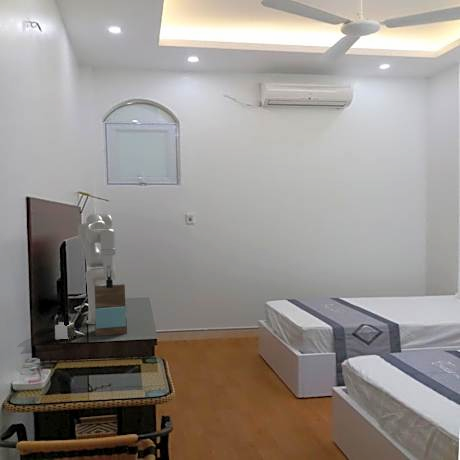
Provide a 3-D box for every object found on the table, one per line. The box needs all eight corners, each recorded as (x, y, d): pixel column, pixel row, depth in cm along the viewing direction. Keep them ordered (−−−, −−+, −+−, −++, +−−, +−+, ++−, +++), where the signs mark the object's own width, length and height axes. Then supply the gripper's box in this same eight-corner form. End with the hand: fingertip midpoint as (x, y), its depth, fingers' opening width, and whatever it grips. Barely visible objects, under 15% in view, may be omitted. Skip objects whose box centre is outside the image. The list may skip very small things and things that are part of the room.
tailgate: (95, 328, 256) (95, 308, 256) (126, 325, 259) (125, 306, 259) (95, 328, 255) (95, 309, 255) (126, 326, 258) (125, 306, 258)
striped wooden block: (96, 330, 271) (94, 286, 270) (126, 327, 275) (124, 284, 274) (95, 336, 256) (93, 289, 256) (127, 333, 260) (125, 287, 260)
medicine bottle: (68, 339, 251) (67, 316, 250) (55, 339, 252) (54, 316, 252) (75, 336, 258) (74, 313, 257) (62, 336, 259) (61, 313, 259)
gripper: (101, 252, 267) (102, 286, 268) (100, 253, 253) (102, 289, 253) (115, 251, 269) (116, 285, 269) (115, 253, 255) (117, 288, 255)
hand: (109, 287), depth 261 cm, fingers closed
